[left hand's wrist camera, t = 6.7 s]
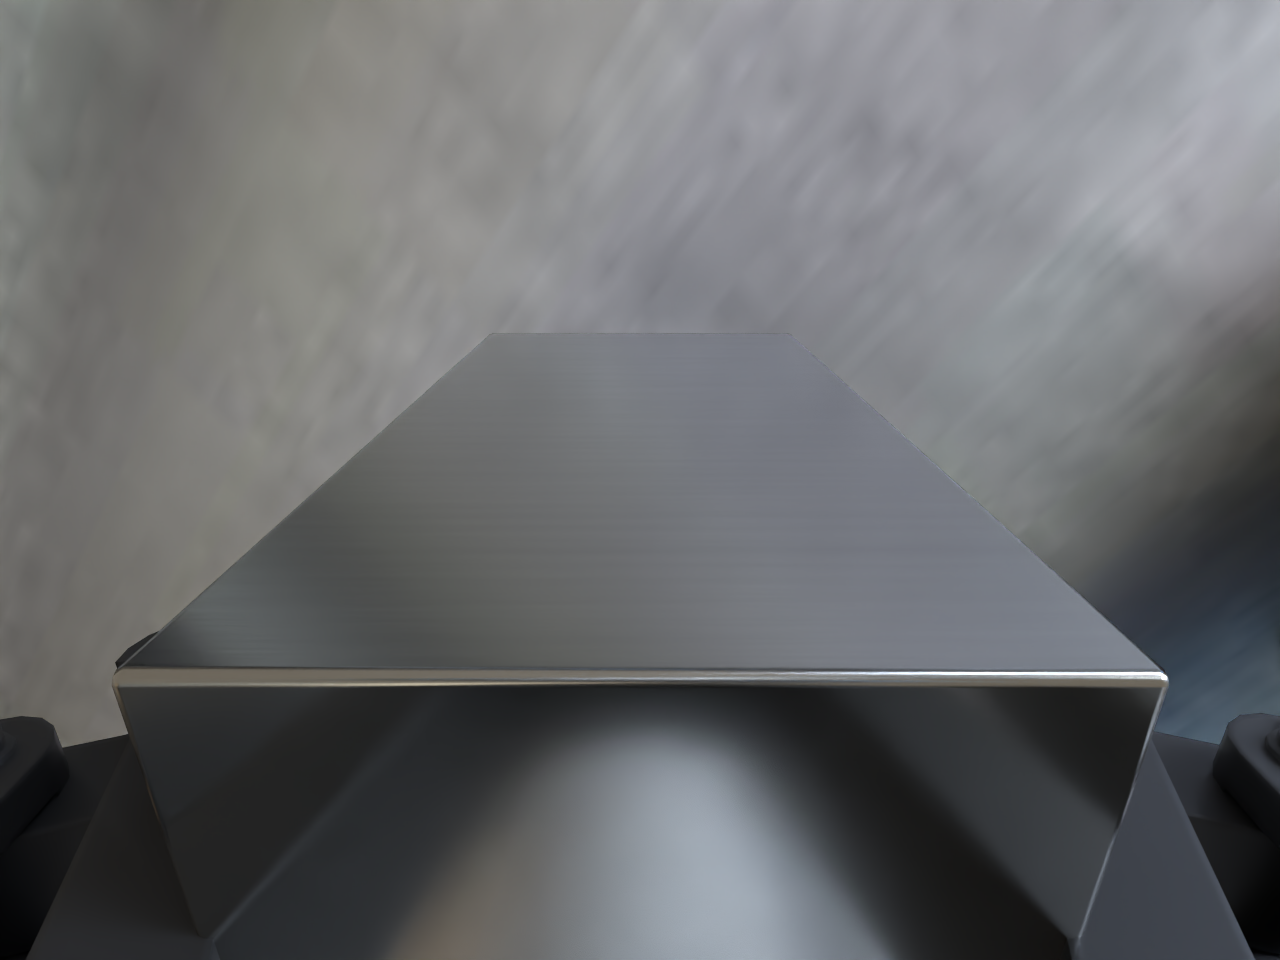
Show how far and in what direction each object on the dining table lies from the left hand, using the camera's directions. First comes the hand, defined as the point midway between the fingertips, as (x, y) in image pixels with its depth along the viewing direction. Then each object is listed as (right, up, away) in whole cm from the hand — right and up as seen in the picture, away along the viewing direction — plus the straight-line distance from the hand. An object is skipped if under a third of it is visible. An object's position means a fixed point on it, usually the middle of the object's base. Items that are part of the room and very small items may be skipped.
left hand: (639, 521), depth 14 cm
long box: (0, -7, +5) cm, 9 cm away
